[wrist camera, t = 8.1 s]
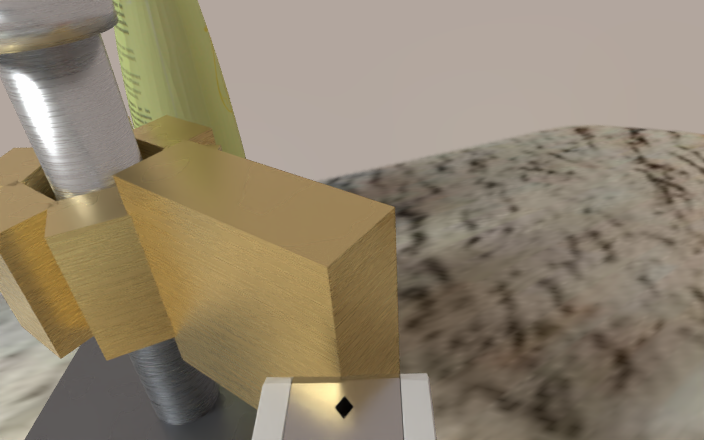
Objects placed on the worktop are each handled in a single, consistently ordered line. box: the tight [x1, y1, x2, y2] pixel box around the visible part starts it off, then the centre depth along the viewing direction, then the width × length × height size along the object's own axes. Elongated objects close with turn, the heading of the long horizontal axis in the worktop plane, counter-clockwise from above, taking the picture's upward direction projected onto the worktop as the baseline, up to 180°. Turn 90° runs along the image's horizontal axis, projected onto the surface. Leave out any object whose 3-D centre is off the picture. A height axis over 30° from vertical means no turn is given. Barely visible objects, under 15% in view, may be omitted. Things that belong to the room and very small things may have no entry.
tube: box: [113, 0, 246, 159], centre depth 22 cm, size 6×5×20 cm
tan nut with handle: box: [0, 115, 400, 410], centre depth 14 cm, size 6×12×6 cm, turn 54°
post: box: [0, 0, 258, 440], centre depth 16 cm, size 11×10×15 cm
